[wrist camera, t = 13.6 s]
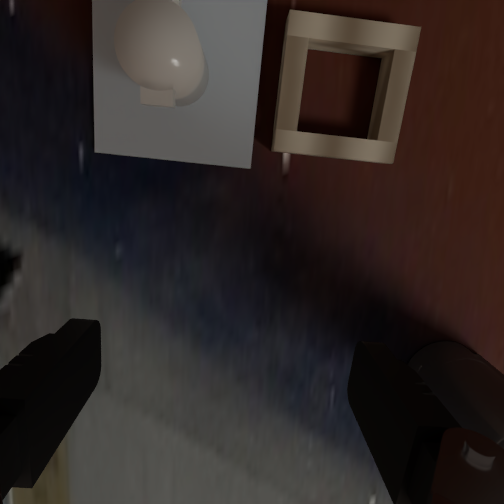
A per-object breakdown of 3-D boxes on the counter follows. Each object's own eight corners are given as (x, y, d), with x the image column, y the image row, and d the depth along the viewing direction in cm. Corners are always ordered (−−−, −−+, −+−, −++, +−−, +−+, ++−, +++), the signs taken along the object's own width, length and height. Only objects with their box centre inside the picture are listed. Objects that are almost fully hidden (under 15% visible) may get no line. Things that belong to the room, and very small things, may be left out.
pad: (267, -5, 32) (268, -9, 31) (250, 168, 36) (250, 168, 36) (95, -28, 31) (91, -33, 30) (97, 152, 35) (94, 152, 35)
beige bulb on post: (207, 119, 34) (197, 108, 26) (146, 114, 34) (115, 101, 25) (212, -16, 31) (202, -81, 22) (145, -23, 31) (109, -92, 22)
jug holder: (405, 38, 34) (421, 27, 31) (380, 163, 37) (392, 163, 34) (285, 22, 33) (290, 9, 30) (270, 151, 36) (273, 150, 33)
